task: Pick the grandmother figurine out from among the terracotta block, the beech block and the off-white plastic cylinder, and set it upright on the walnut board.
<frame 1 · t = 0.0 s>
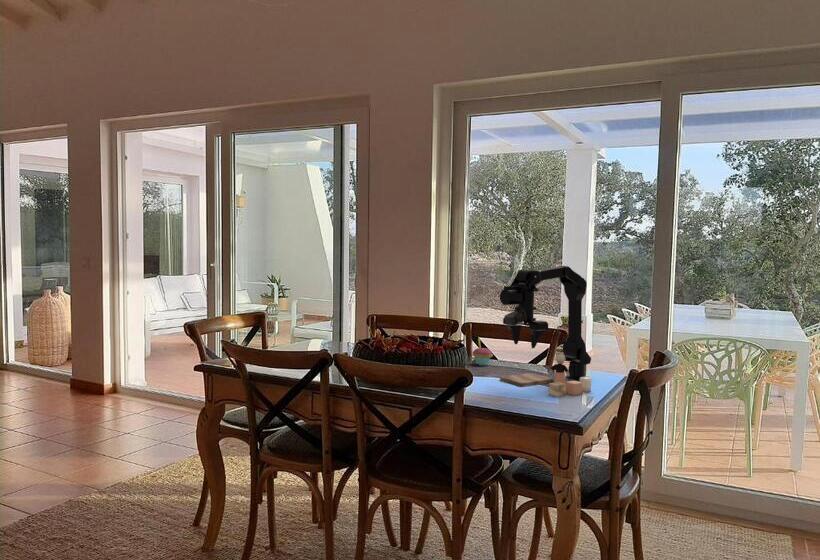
hand: (524, 346, 239), 15 cm above the table, fingers open, 9 cm apart
walnut board: (526, 381, 248), on the table
cupcake: (482, 364, 279), on the table
terracotta block: (573, 393, 231), on the table
beech block: (557, 394, 228), on the table
grandmother figurine: (559, 389, 237), on the table
off-white cylinder: (585, 390, 235), on the table
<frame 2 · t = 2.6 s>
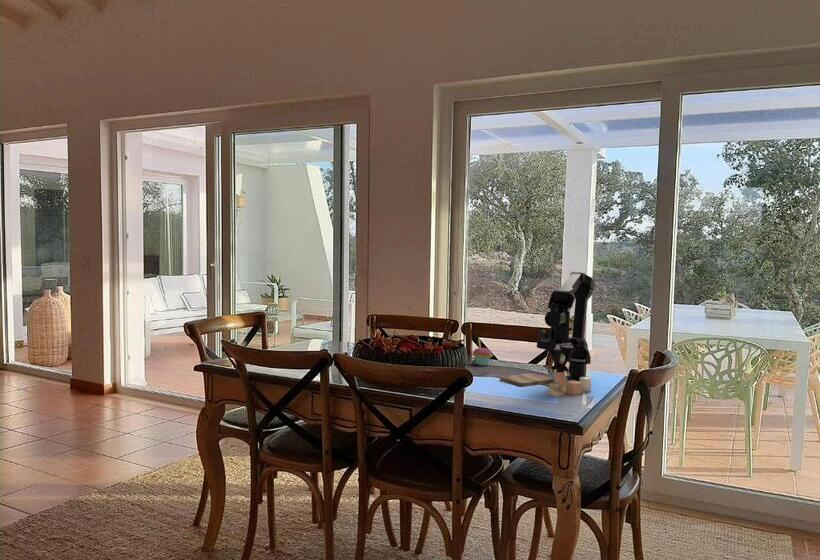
hand: (559, 367, 236), 8 cm above the table, fingers closed on grandmother figurine, 3 cm apart
grandmother figurine: (559, 389, 237), on the table, touching gripper
everything else where it was.
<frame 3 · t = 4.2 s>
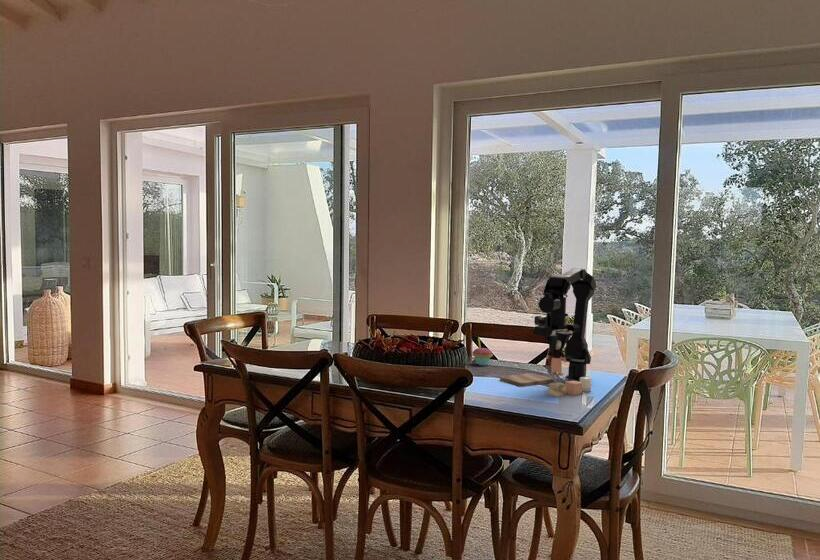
hand: (556, 352, 237), 13 cm above the table, fingers closed on grandmother figurine, 3 cm apart
grandmother figurine: (555, 375, 238), point 5 cm above the table, touching gripper
everything else where it was.
when the fingers open (11 cm above the table, at t = 5.9 s): grandmother figurine drops 1 cm, resting on walnut board.
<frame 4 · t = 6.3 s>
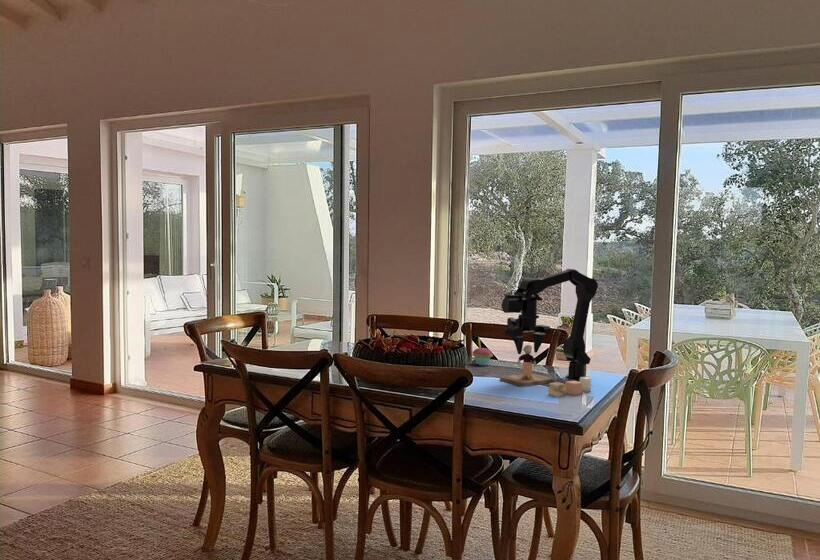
hand: (527, 353, 247), 11 cm above the table, fingers open, 8 cm apart
grandmother figurine: (526, 378, 248), point 1 cm above the table, touching walnut board
everything else where it was.
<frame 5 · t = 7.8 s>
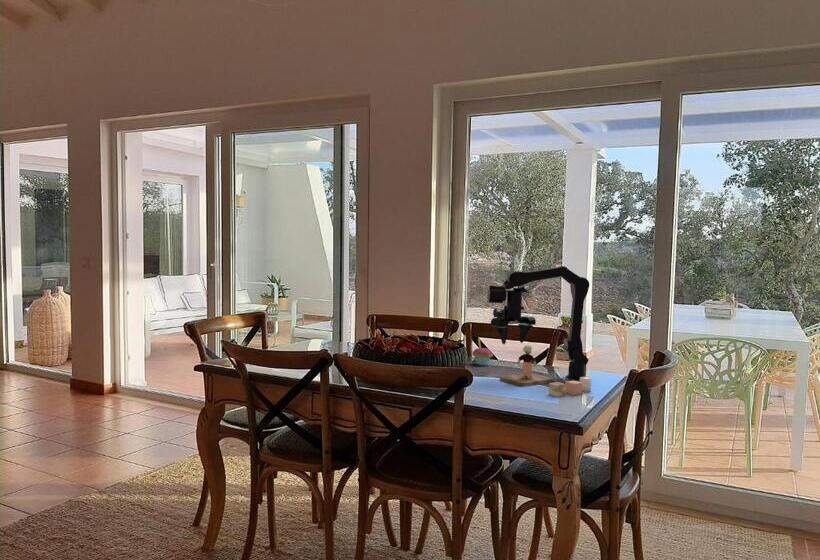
hand: (512, 343, 254), 13 cm above the table, fingers open, 9 cm apart
nothing on the table moved.
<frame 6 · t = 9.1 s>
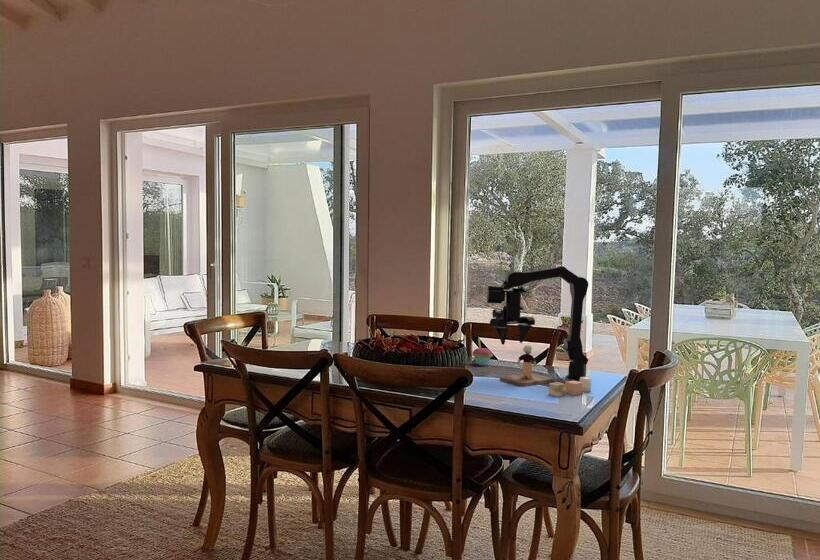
hand: (511, 343, 255), 13 cm above the table, fingers open, 9 cm apart
nothing on the table moved.
at the end: grandmother figurine inside the target area on the walnut board (0.1 cm from its centre), point 1.0 cm above the walnut board's base; grandmother figurine tilted 0°; the gripper is holding nothing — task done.
